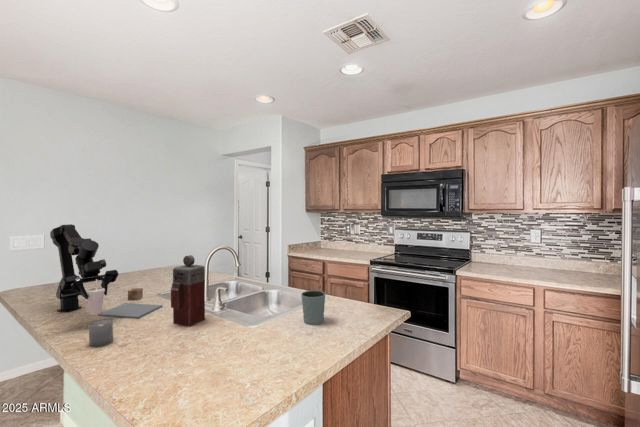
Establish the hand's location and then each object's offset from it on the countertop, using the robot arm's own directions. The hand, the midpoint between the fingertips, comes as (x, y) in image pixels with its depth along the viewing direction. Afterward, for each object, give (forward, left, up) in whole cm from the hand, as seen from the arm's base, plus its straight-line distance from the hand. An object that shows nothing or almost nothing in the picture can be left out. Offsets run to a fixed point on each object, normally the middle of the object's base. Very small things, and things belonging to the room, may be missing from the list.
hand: (96, 296), depth 126 cm
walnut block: (-12, +36, -12) cm, 40 cm away
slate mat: (0, +19, -12) cm, 22 cm away
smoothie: (-1, +1, -7) cm, 7 cm away
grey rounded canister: (+14, -12, -12) cm, 22 cm away
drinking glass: (+85, +21, -12) cm, 88 cm away
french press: (+33, +11, -12) cm, 37 cm away
